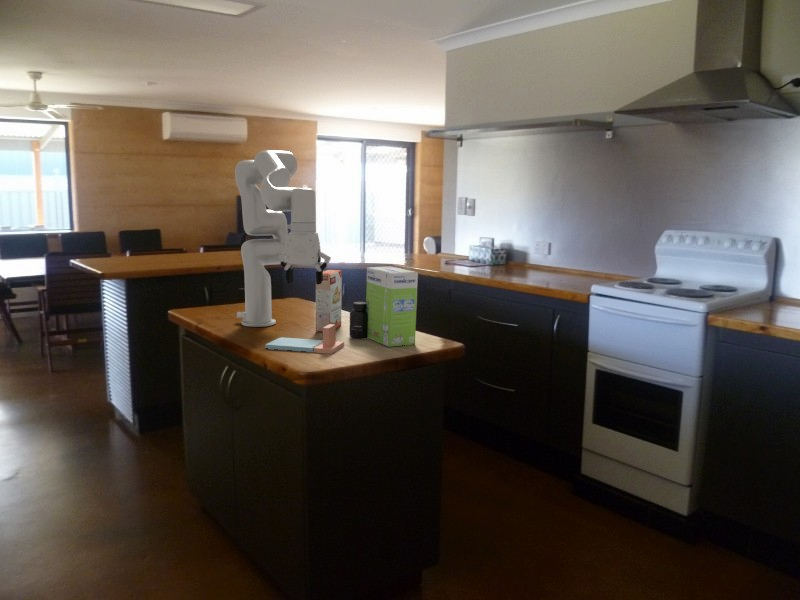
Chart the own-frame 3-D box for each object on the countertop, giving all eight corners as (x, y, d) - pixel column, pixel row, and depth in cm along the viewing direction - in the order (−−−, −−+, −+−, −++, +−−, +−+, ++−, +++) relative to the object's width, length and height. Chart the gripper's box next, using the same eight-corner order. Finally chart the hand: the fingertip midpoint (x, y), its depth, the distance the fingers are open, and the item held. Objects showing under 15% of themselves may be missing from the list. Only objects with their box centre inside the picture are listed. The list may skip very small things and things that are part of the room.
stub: (313, 352, 200) (313, 328, 199) (326, 344, 211) (326, 322, 209) (332, 353, 199) (332, 330, 197) (344, 345, 209) (344, 323, 208)
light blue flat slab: (265, 348, 204) (265, 344, 204) (280, 341, 215) (280, 337, 214) (313, 352, 200) (312, 347, 200) (325, 344, 211) (325, 340, 210)
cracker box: (331, 333, 229) (330, 274, 225) (315, 332, 230) (314, 273, 227) (342, 325, 242) (342, 269, 239) (327, 324, 243) (326, 269, 240)
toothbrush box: (417, 344, 212) (418, 271, 208) (389, 348, 207) (390, 272, 203) (391, 334, 227) (391, 265, 223) (364, 337, 222) (364, 267, 218)
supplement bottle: (353, 340, 218) (353, 304, 216) (346, 336, 224) (346, 301, 222) (372, 338, 220) (372, 303, 218) (365, 334, 226) (365, 300, 225)
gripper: (272, 228, 199) (273, 283, 202) (325, 229, 195) (326, 285, 198) (282, 227, 207) (284, 280, 209) (334, 228, 202) (334, 282, 205)
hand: (304, 283), depth 203 cm, fingers open, 9 cm apart
